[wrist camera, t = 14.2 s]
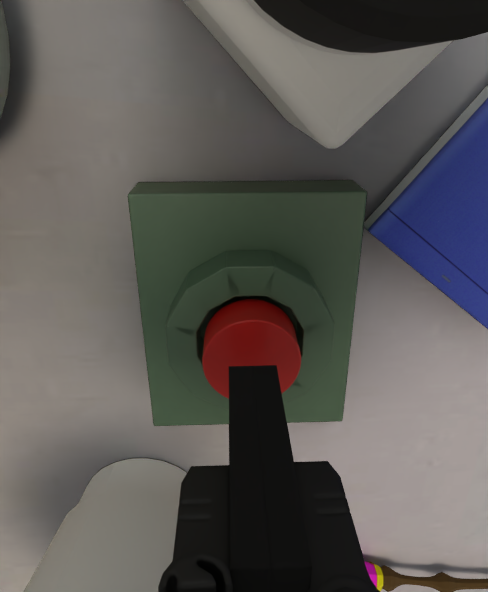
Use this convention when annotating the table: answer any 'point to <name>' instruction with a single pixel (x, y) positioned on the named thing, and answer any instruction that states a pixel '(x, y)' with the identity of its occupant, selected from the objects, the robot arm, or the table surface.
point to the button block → (246, 283)
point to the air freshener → (4, 59)
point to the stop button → (250, 342)
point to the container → (336, 52)
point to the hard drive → (445, 213)
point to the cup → (116, 532)
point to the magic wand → (420, 580)
